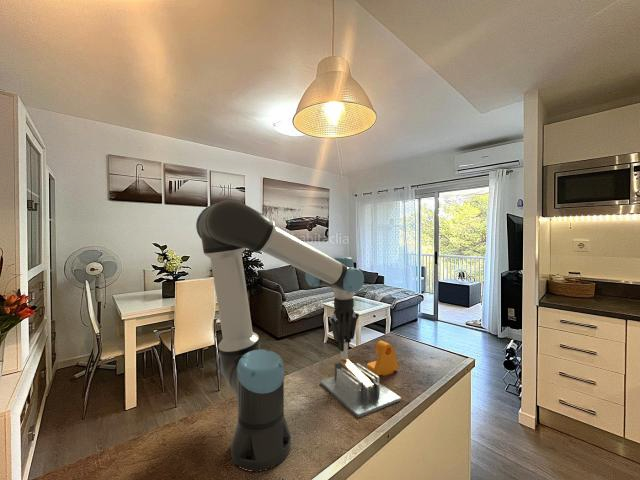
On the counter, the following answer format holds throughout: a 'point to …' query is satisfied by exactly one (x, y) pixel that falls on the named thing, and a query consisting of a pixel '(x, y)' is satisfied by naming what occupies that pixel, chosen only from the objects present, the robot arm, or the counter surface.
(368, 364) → the bracket
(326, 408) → the counter surface
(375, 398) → the heatsink
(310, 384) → the counter surface
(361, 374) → the strap
